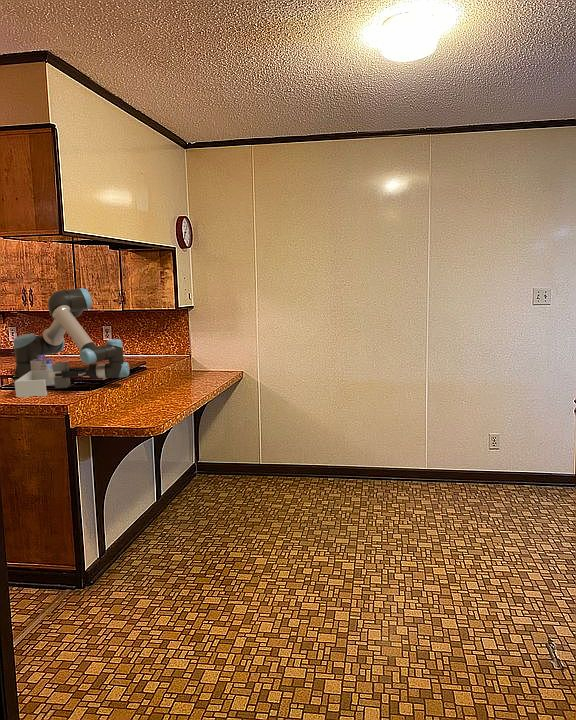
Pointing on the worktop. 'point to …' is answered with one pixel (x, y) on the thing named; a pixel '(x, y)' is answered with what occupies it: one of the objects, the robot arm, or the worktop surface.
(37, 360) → the ink cartridge box
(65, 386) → the dark grey block
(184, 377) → the worktop surface
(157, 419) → the worktop surface
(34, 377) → the open side box
